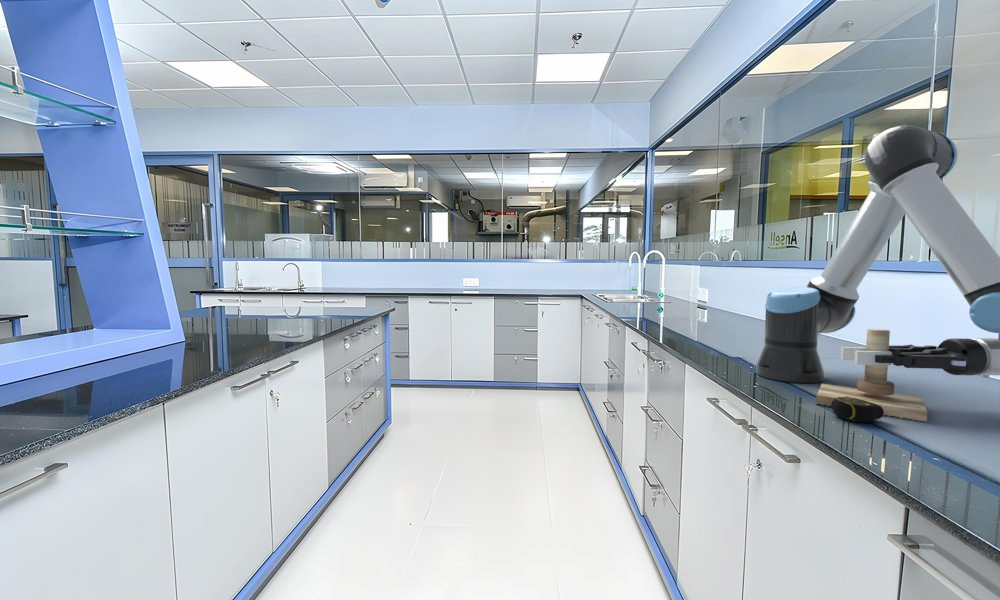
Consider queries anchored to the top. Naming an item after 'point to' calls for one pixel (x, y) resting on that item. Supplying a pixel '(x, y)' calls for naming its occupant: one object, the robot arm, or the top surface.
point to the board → (877, 401)
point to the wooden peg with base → (876, 374)
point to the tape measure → (856, 409)
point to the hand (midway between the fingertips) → (849, 355)
